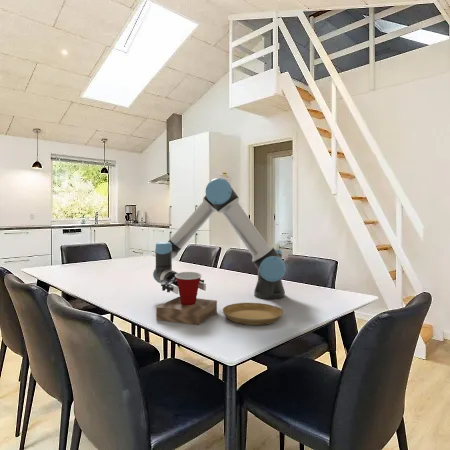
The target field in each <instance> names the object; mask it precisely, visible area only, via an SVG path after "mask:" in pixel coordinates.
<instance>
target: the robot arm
mask: <svg viewBox="0 0 450 450" xmlns="http://www.w3.org/2000/svg"><path fill="white" fill-rule="evenodd" d="M239 200H240V198H239V196H238V195H237V193H236V192H235V190H234V189H233V187H232V185H231V183H230V182H229V181H228V180H227V179H225V178H222V177H216V178H213V179H212V180H210V181H209V182H208V183H207V185H206V187H205V195H204V196H203V198H202V202H201V203H200V204H199V205H198V207H197V208H196V209H195V210H194V211H193V212H192V214H190V216H189V217H188V218H187V219H186V221H184V223H182V225H181V226H180V227H179V229H177V231H176V232H175V233H174V234H173V235H172V237H170V239H168V241H166V242H165V241H161V242H156V244H155V249H154V252H155V268H154V270H153V272H152V277H153V279H154V280H155V281H156V282H157V283H158V284H160V287H161V290H162V291H163V292H164V291H166V292H167V293H171V292H172V293H173V294H175V295H179V289H178V283H177V279H176V277H175V274H177V273H178V272H177V271H175V270H173V269H172V268H173V267H172V266H173V259H174V258H176V257H177V255H178V253H179V252H180V251H181V250H182V249H183V248H184V247H185V246H186V244H187V243H188V242H189V241H190V240H191V238H192V237H194V235H195V234H196V233H197V232H198V231H199V230H200V228H201V227H202V226H203V225H204V224H205V223H206V222H207V221H208V220H209V218H210V217H211V216H212V215H213V214H214V212H218V213H220V214H223V216H224V218H225V219H226V220H227V221H228V223H229V224H230V226H231V227H232V229H233V230H234V232H235V234H237V236H238V237H239V239H240V240H241V242H242V243H243V244H244V246H245V248H246V249H247V250H248V252H249V254H250V255H251V256H252V258H251V261H252V262H251V263H252V264H254V266H255V268H257V281H256V284H255V287H254V290H253V291H254V294H253V295H254V297H256V298H259V299H265V300H279V299H283V298H285V297H286V291H285V288H284V285H283V284H284V283H283V281H282V278H283V277H284V275H285V274H286V263H285V261H284V260H283V259H282V258H283V253H282V250H281V249H275V248H274V246H271V245H269V244H268V243H267V242H266V240H265V239H264V237H263V236H262V234H260V232H259V231H258V229H257V228H256V226H255V225H254V223H253V222H252V220H251V219H250V217H249V216H248V214H247V213H246V212H245V210H244V209H243V207H242V206H241V205H240V203H239ZM199 289H200V290H201V291H207V283H205V280H204V279H202V278H200V281H199V286H198V290H199Z"/></svg>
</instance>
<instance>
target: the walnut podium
mask: <svg viewBox="0 0 450 450" xmlns="http://www.w3.org/2000/svg"><path fill="white" fill-rule="evenodd" d="M217 303H218V300H216V299H215V300H213V299H204V298H197V297H196V302H195V304H193V305H183V304H181V300H180V296H177V297H175V298H173V299H171V300H168V301H166V302H164V303H161V304H159V305H158V306H156V308H155V309H156V312H155V314H156V316H155V317H156V318H155V320H157V321H164V322H171V323H172V322H173V323H179V324H187V325H194V326H199V325H201V324H202V323H203V322H205V321H206V320H208V319H209V318H211V317H212V316H213V315H215V314H217V312H218V304H217Z"/></svg>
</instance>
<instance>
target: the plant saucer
mask: <svg viewBox="0 0 450 450" xmlns="http://www.w3.org/2000/svg"><path fill="white" fill-rule="evenodd" d="M222 313H223V314H224V316H225V317H226V318H227V319H228V320H230V321H231V322H233V323H237V324H241V325H246V326H264V325H270V324H272V323H273V324H274V323H276V322H278V321H279V320H280V319H281V317H282V316H283V315H284V310H283V309H282V308H280V307H278V306H275V305H272V304H267V303H262V302H261V303H260V302H237V303H231V304H229V305H226V306H224V307H223V308H222Z"/></svg>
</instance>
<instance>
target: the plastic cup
mask: <svg viewBox="0 0 450 450" xmlns="http://www.w3.org/2000/svg"><path fill="white" fill-rule="evenodd" d="M175 277H176V279H177V283H178V295H179V297H180V300H181V304H183V305H193V304H195V302H196V298H197V296H198V290H199V288H198V286H199V281H200V279H202V273H200V272H195V271H181V272H177V274H175Z"/></svg>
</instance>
